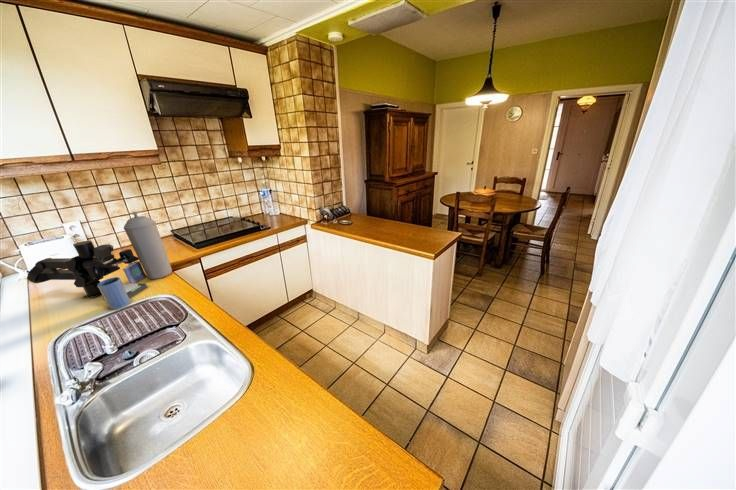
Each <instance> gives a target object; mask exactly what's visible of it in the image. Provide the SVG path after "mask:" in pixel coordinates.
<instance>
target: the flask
mask: <svg viewBox="0 0 736 490" xmlns="http://www.w3.org/2000/svg"><path fill="white" fill-rule="evenodd" d="M122 271H123V272H124V274H125V276H126V278H127V280H128V284H131V283H137V282H140V281H141V280H142V279H143V278H145V277H147V275H146V273H145V271H144V269H143V267H142V265H141V263H140V261H139V260H137V261H135V262H132V263H130V264H129V263H128V264H127V266H125V267H124V268H123V269H122Z"/></svg>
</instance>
